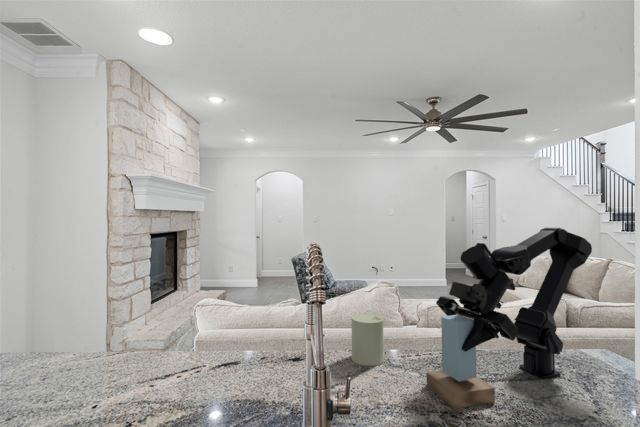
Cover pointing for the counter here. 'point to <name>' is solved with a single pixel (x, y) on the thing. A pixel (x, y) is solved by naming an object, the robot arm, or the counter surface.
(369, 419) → the counter surface
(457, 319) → the block
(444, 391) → the slab
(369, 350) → the can
